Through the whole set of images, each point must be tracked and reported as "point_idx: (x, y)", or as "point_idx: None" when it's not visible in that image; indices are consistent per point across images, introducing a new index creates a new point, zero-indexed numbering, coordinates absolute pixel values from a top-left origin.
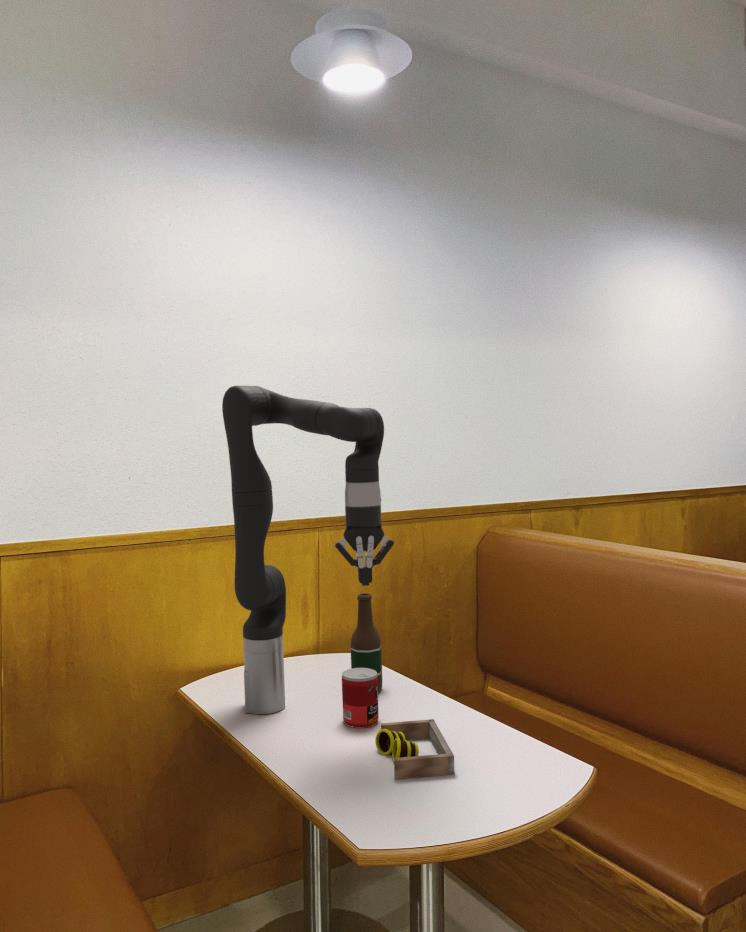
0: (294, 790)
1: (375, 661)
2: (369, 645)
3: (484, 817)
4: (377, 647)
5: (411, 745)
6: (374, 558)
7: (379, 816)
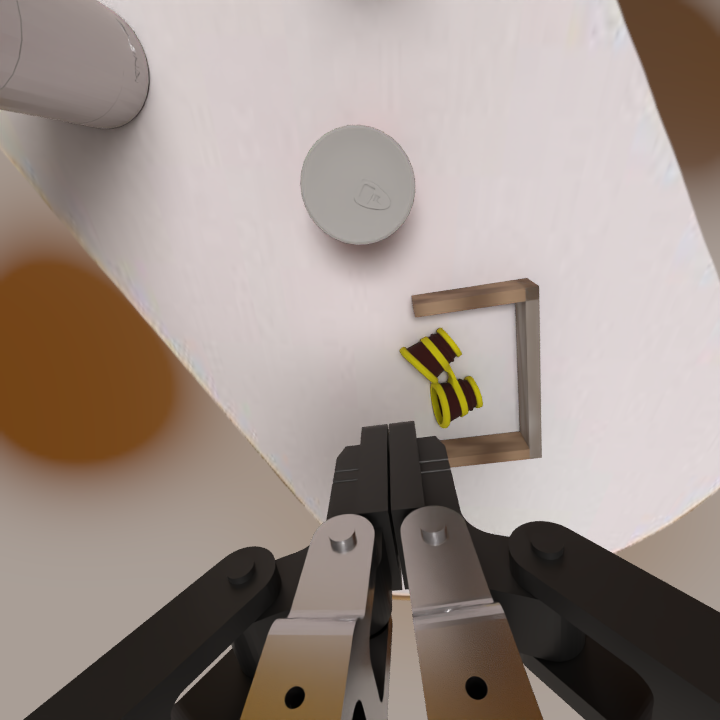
0: (276, 473)
1: None
2: None
3: None
4: None
5: (470, 407)
6: (526, 620)
7: None
